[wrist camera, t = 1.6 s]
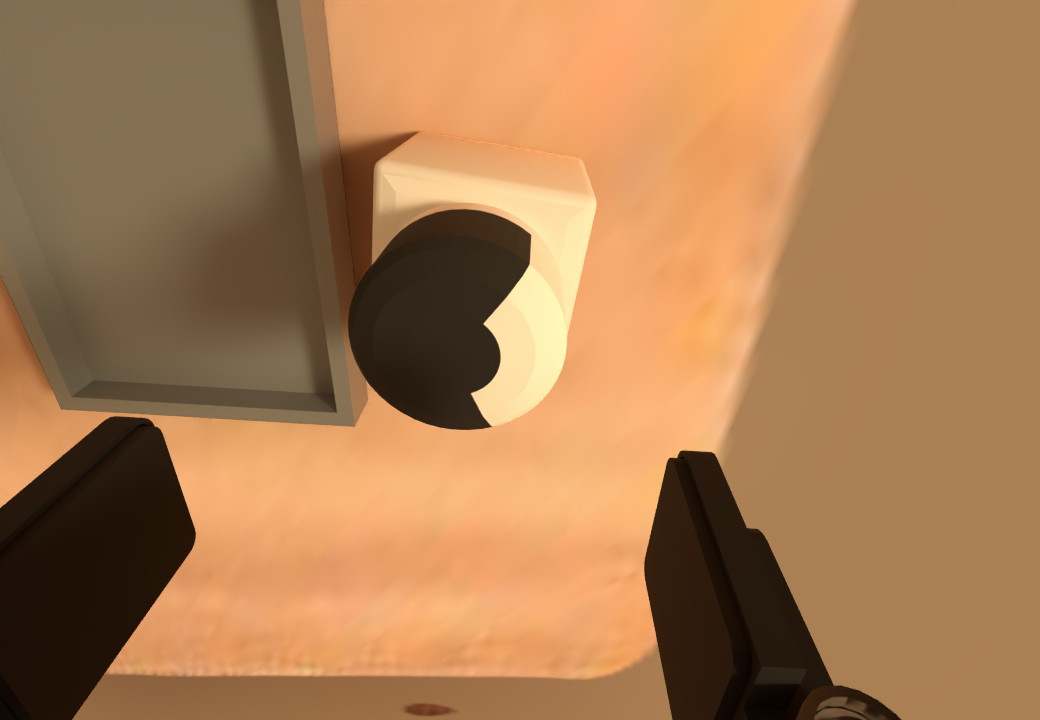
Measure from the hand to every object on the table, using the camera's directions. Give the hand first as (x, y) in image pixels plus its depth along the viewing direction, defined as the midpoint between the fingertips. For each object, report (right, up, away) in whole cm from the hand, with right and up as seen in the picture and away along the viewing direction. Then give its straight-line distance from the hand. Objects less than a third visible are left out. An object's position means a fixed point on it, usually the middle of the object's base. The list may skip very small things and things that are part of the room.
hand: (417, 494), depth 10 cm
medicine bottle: (+1, +9, +15) cm, 17 cm away
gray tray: (-13, +9, +15) cm, 22 cm away
